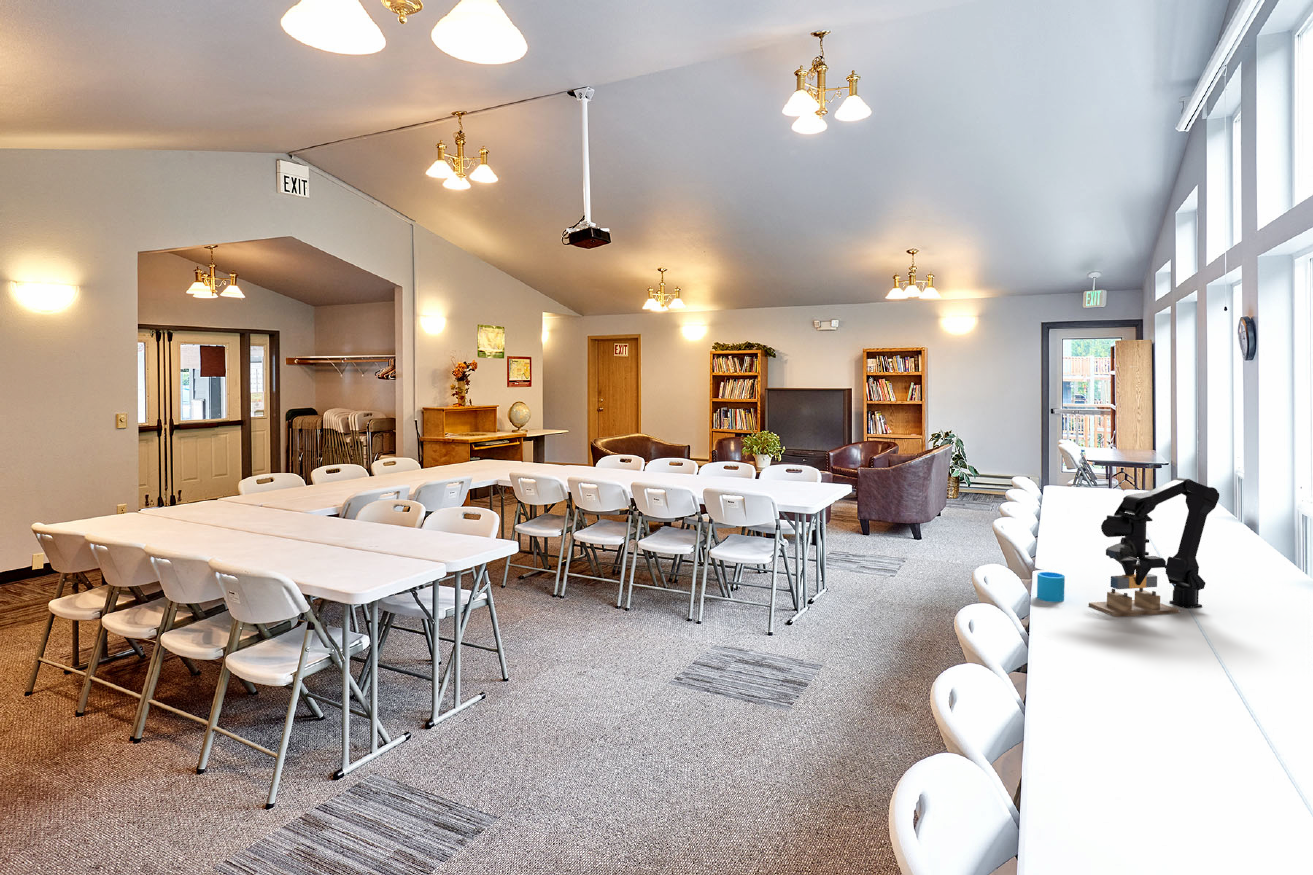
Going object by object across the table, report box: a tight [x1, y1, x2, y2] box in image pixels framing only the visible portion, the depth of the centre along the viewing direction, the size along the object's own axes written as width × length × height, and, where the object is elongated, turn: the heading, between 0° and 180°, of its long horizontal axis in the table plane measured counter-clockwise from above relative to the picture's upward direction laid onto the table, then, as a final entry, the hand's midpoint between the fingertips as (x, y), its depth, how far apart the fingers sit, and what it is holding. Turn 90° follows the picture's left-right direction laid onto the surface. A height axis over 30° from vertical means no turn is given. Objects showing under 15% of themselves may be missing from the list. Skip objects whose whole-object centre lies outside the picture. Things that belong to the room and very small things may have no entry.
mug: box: [1036, 571, 1066, 603], centre depth 255 cm, size 12×8×8 cm
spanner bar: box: [1110, 573, 1158, 590], centre depth 240 cm, size 14×3×4 cm, turn 98°
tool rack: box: [1088, 588, 1180, 618], centre depth 241 cm, size 22×12×6 cm, turn 98°
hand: (1134, 583), depth 241 cm, fingers closed on spanner bar, 3 cm apart
